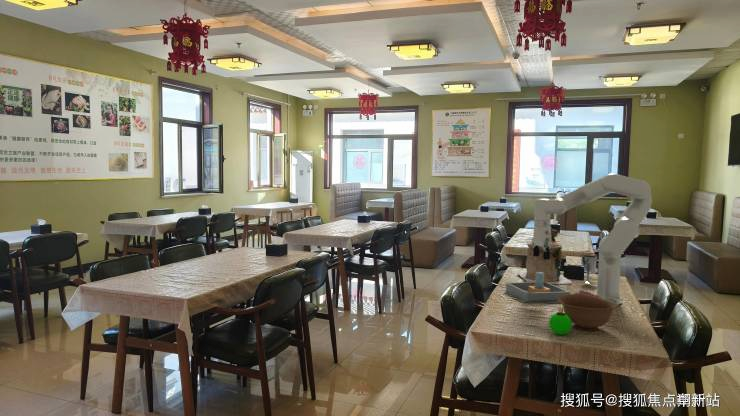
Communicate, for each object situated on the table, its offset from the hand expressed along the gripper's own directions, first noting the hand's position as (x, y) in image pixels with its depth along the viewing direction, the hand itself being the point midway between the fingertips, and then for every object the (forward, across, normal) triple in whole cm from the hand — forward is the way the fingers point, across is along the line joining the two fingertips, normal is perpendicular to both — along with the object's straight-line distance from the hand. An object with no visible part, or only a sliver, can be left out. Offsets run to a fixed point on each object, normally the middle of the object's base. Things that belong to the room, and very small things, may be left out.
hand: (541, 257), depth 248 cm
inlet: (+19, 0, 0) cm, 19 cm away
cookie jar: (+19, +32, -20) cm, 43 cm away
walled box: (+19, -3, +4) cm, 19 cm away
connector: (+18, 0, 0) cm, 18 cm away
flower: (+19, -33, -4) cm, 38 cm away
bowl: (+19, -52, +10) cm, 56 cm away
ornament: (+19, -58, +24) cm, 65 cm away
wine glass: (+19, +22, -42) cm, 51 cm away
